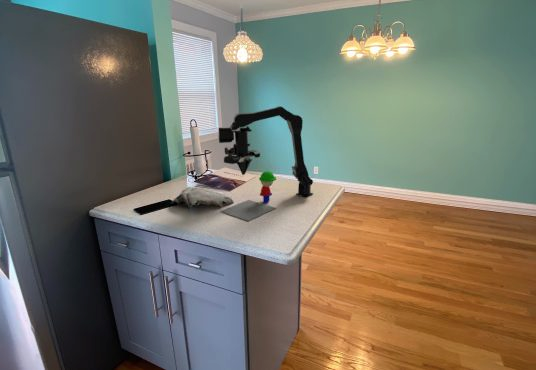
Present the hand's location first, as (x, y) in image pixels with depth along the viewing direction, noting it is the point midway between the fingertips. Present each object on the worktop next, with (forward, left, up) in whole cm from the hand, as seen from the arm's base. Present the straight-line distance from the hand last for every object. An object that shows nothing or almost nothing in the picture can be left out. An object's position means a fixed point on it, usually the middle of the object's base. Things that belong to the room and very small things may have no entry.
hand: (243, 174), depth 142 cm
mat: (+9, +11, -13) cm, 19 cm away
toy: (-5, +11, -13) cm, 18 cm away
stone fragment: (+15, -14, -13) cm, 25 cm away
